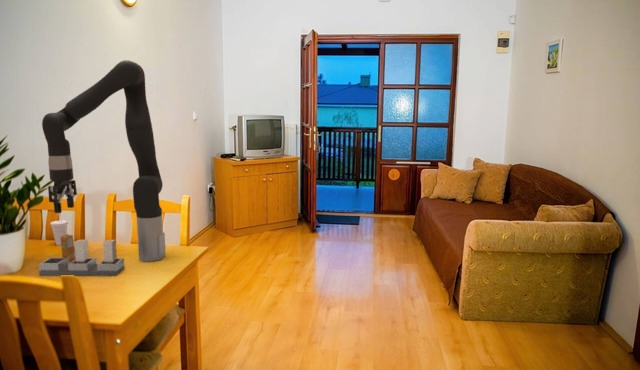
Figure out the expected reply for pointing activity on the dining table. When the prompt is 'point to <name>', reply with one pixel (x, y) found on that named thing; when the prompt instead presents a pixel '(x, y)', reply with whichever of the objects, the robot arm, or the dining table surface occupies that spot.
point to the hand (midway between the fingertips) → (64, 210)
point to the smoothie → (59, 229)
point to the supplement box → (67, 247)
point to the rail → (84, 262)
